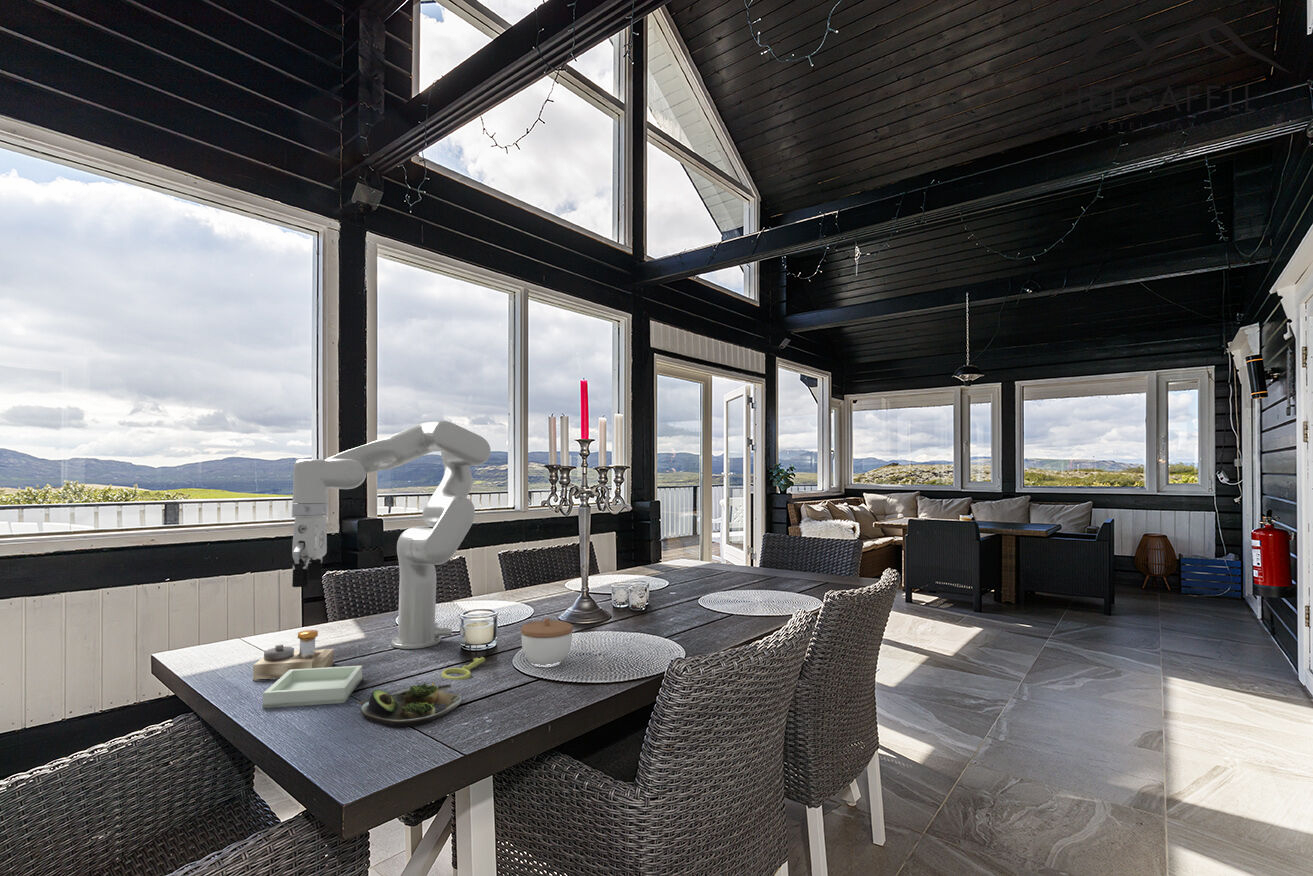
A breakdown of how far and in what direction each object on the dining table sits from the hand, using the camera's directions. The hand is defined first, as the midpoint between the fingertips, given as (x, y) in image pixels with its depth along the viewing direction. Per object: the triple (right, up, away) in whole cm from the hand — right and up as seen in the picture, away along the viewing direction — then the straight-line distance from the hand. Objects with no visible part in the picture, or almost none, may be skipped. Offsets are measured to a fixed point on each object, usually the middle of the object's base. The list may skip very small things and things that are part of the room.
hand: (307, 582), depth 149 cm
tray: (+10, -20, -16) cm, 27 cm away
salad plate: (+34, -20, -25) cm, 47 cm away
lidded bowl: (+56, -21, +6) cm, 60 cm away
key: (+38, -21, -1) cm, 43 cm away
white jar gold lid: (+1, -20, -1) cm, 21 cm away
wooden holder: (-2, -20, -2) cm, 21 cm away
